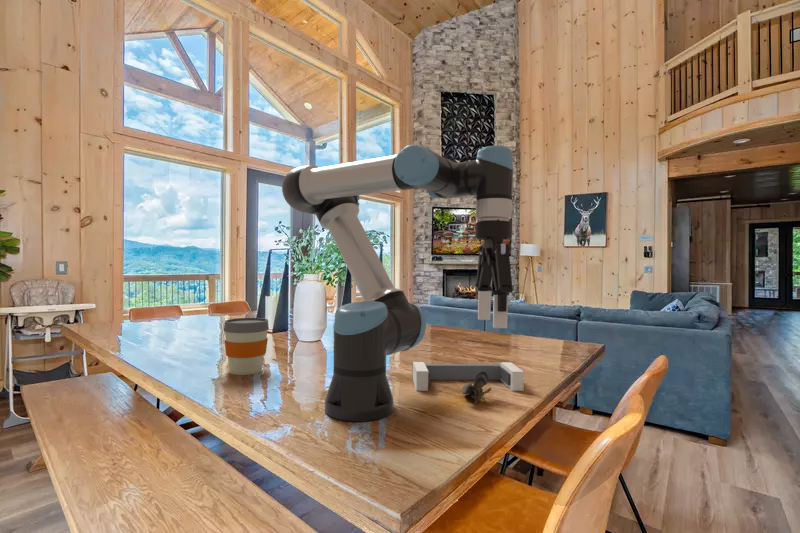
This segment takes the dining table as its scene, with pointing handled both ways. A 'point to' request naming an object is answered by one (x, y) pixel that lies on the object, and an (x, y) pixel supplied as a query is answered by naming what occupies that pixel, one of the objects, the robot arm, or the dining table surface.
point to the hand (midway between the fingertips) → (491, 323)
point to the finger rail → (467, 373)
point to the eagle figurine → (477, 387)
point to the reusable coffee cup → (245, 344)
